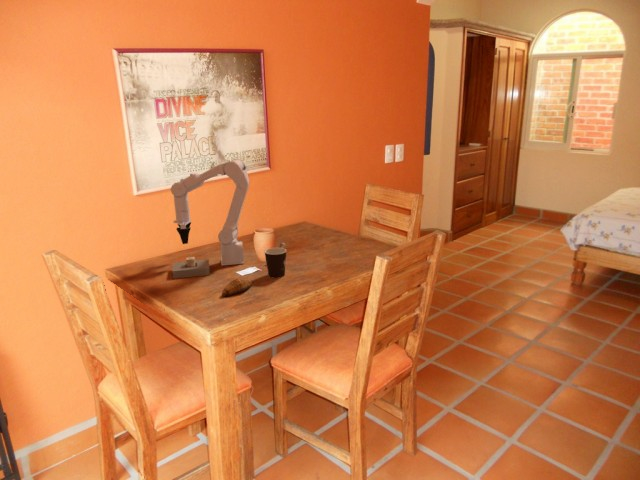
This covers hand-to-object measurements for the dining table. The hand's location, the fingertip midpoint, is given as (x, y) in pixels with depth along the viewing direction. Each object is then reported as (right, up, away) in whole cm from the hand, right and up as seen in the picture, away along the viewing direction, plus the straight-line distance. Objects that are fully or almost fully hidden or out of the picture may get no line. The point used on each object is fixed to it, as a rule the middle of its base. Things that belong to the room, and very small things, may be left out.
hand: (185, 241), depth 207 cm
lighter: (+40, -9, +1) cm, 41 cm away
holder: (+5, -13, -10) cm, 17 cm away
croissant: (+28, -19, -30) cm, 45 cm away
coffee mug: (+41, -13, -14) cm, 45 cm away
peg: (+5, -13, -10) cm, 17 cm away
